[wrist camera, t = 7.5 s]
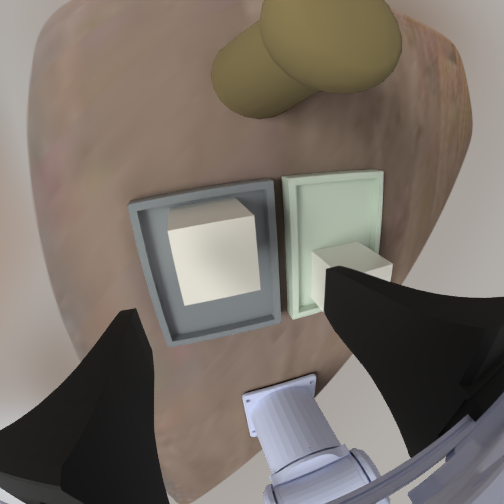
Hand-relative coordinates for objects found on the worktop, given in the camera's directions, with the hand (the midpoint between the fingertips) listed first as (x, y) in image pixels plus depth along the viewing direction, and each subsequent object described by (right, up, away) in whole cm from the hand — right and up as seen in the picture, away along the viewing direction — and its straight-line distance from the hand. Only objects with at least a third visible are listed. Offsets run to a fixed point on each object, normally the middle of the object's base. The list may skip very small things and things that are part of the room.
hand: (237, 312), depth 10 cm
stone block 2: (+7, +1, +12) cm, 14 cm away
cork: (+1, +14, +5) cm, 15 cm away
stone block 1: (-2, +3, +8) cm, 9 cm away
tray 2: (+7, +3, +11) cm, 14 cm away
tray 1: (-2, +1, +9) cm, 10 cm away
